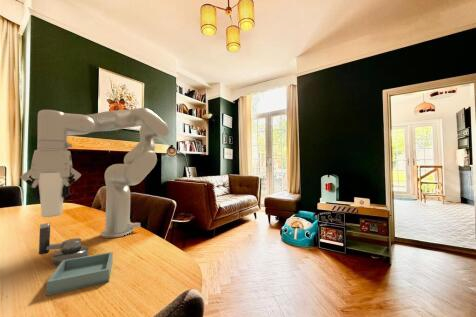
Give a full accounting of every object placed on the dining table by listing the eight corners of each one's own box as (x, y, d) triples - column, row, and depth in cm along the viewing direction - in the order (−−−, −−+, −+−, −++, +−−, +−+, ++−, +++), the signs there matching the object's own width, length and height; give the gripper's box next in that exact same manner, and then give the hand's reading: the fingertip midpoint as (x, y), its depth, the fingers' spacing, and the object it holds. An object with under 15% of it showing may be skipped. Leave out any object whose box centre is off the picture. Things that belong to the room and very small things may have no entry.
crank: (83, 246, 69) (84, 219, 69) (77, 252, 64) (79, 223, 65) (43, 251, 65) (44, 222, 65) (34, 257, 60) (36, 226, 60)
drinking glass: (41, 219, 64) (42, 173, 64) (35, 216, 68) (35, 172, 68) (68, 214, 70) (68, 172, 70) (61, 212, 73) (61, 171, 74)
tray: (112, 262, 63) (112, 251, 64) (108, 281, 53) (109, 269, 53) (62, 271, 58) (62, 260, 58) (46, 296, 47) (46, 282, 47)
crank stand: (88, 260, 65) (88, 250, 65) (50, 268, 59) (51, 258, 59) (87, 244, 77) (87, 236, 77) (56, 250, 72) (56, 242, 72)
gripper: (85, 147, 76) (85, 194, 76) (23, 146, 68) (22, 198, 68) (81, 146, 70) (81, 197, 70) (11, 144, 62) (10, 202, 61)
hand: (52, 197), depth 69 cm, fingers closed on drinking glass, 6 cm apart
